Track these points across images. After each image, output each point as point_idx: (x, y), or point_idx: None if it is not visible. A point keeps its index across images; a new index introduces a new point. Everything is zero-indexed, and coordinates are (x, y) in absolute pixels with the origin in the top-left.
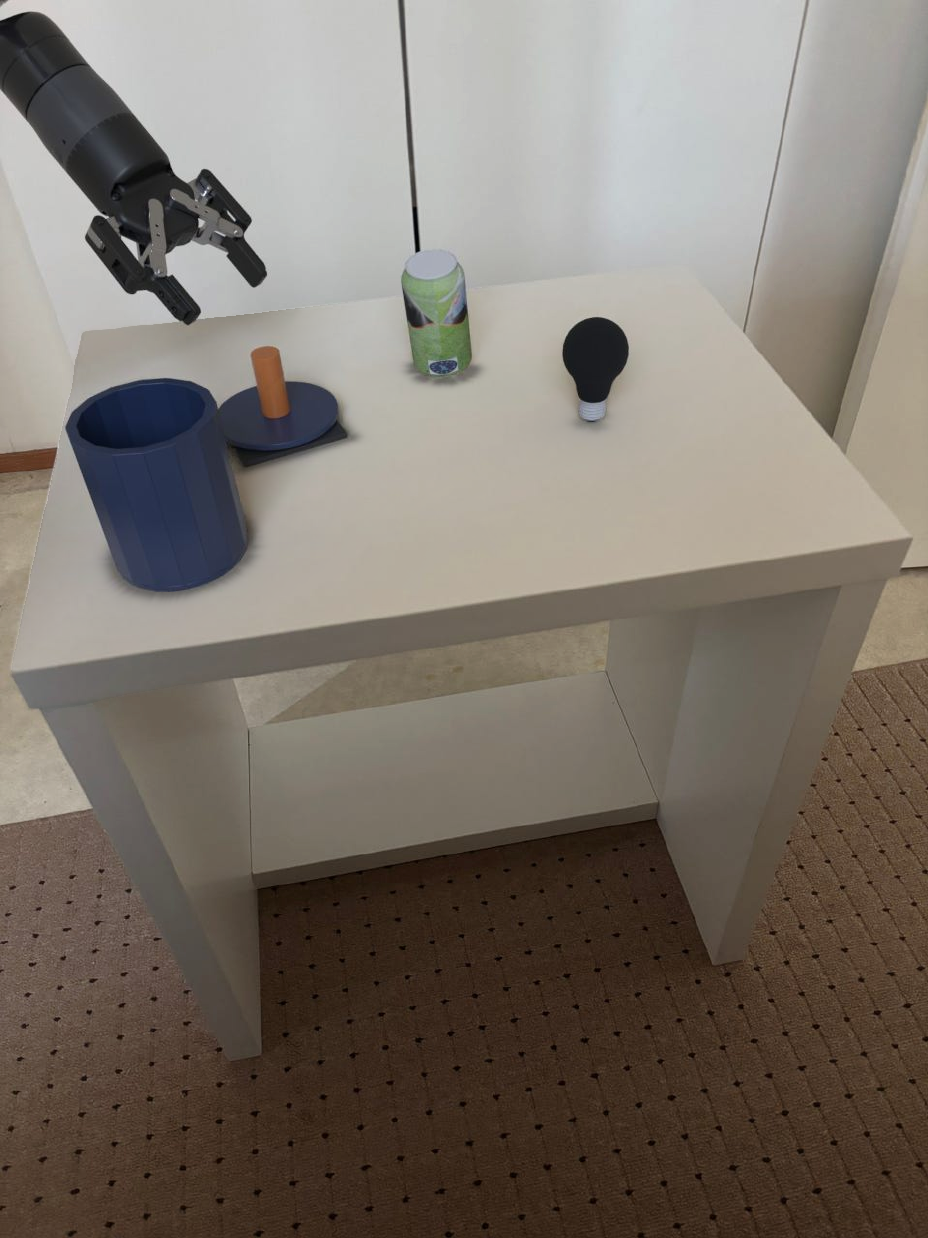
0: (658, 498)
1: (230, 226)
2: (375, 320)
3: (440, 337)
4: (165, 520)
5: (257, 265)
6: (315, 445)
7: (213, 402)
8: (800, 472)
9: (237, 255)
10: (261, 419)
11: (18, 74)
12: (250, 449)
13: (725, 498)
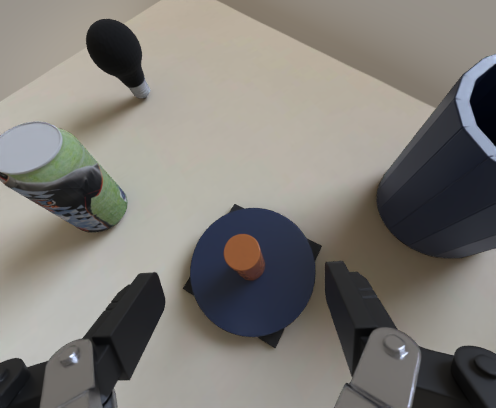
0: (203, 43)
1: (64, 374)
2: (26, 334)
3: (105, 171)
4: None
5: (141, 282)
6: None
7: (467, 74)
8: (154, 18)
9: (131, 336)
10: (270, 268)
11: None
12: None
13: (189, 27)
